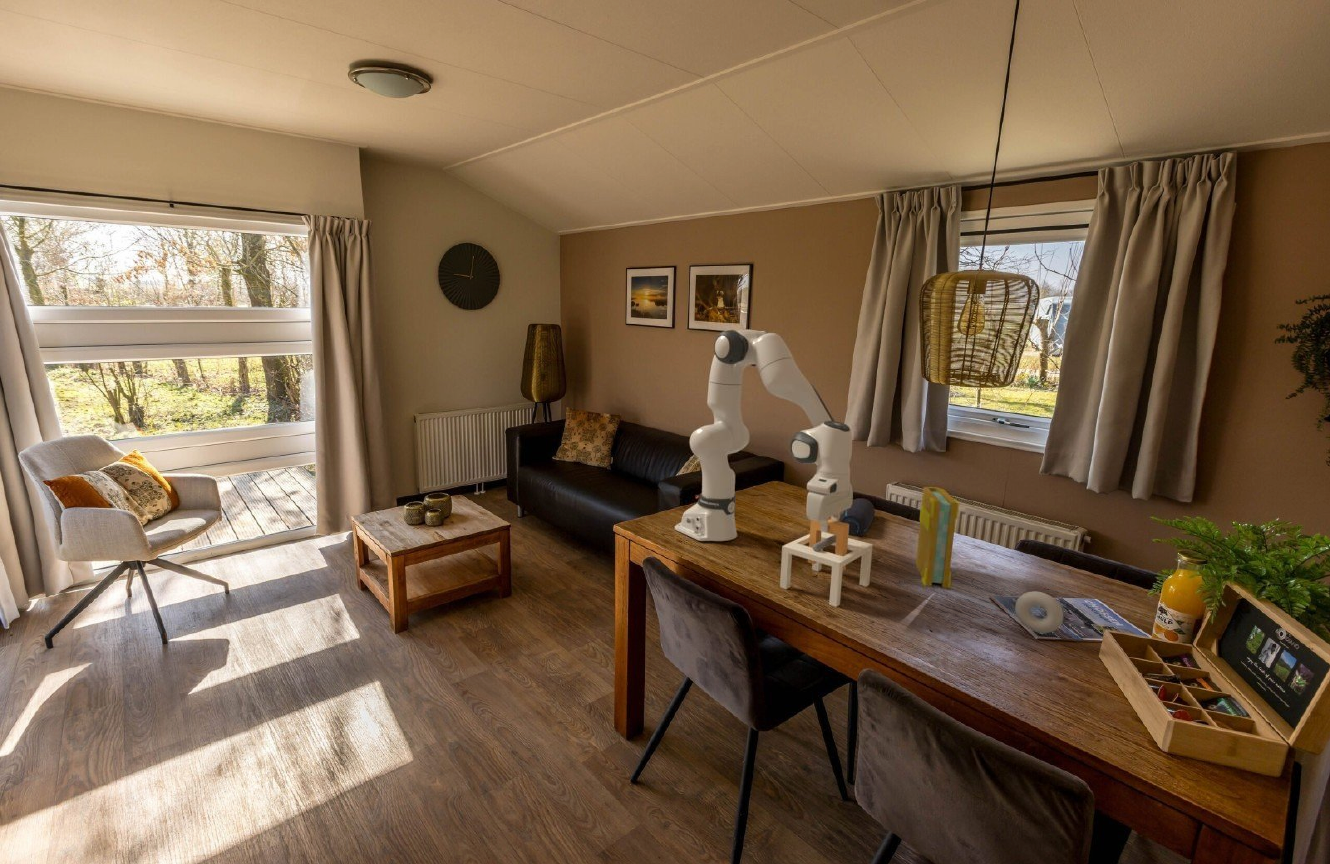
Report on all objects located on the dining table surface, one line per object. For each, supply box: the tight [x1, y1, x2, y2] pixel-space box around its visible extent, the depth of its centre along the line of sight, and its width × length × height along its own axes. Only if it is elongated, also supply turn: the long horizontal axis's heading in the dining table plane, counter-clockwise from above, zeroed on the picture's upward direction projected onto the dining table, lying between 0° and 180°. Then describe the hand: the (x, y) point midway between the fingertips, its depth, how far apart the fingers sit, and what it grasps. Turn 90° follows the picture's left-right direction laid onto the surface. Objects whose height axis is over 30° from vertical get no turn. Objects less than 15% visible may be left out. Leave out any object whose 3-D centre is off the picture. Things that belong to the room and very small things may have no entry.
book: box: [915, 486, 960, 589], centre depth 175 cm, size 17×7×25 cm, turn 168°
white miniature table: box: [779, 532, 874, 608], centre depth 166 cm, size 17×20×14 cm
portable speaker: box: [838, 498, 876, 537], centre depth 216 cm, size 25×10×10 cm, turn 153°
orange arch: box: [807, 518, 849, 572], centre depth 165 cm, size 10×3×13 cm, turn 47°
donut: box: [1014, 590, 1064, 634], centre depth 143 cm, size 10×4×10 cm, turn 48°
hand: (828, 529), depth 165 cm, fingers closed on orange arch, 3 cm apart
